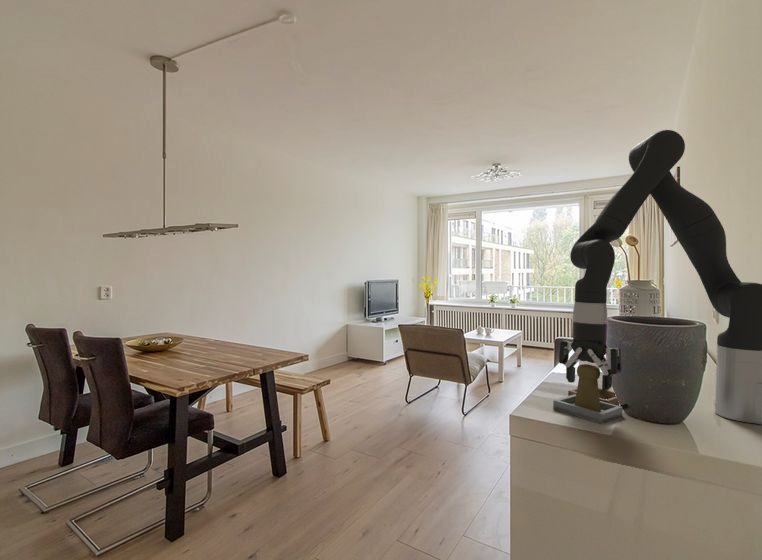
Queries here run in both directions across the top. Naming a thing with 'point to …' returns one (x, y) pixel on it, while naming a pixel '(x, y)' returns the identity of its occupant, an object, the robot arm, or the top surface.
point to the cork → (588, 387)
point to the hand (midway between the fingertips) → (587, 385)
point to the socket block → (602, 396)
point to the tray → (588, 410)
